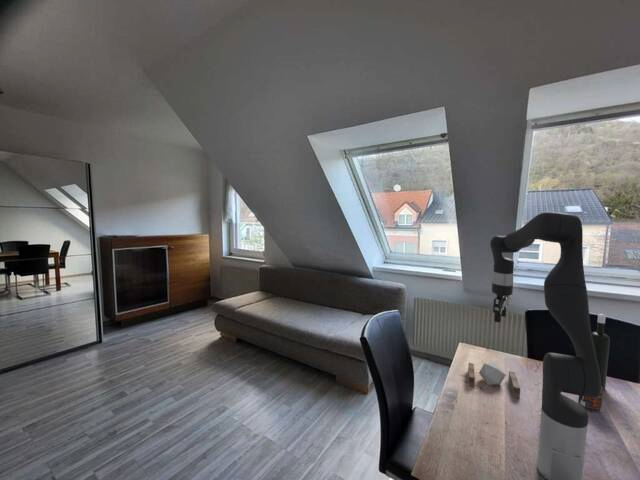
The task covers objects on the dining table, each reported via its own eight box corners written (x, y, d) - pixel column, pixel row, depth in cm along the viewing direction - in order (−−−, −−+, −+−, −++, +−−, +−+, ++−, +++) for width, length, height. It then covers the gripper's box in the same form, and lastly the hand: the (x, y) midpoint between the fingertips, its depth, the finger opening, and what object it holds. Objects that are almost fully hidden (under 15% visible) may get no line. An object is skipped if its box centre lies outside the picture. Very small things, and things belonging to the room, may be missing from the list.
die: (504, 393, 111) (512, 370, 113) (483, 381, 112) (492, 358, 114) (491, 388, 119) (500, 367, 121) (472, 376, 120) (481, 355, 122)
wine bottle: (581, 383, 116) (588, 312, 113) (590, 380, 118) (597, 310, 115) (599, 392, 110) (607, 317, 107) (608, 388, 112) (615, 315, 109)
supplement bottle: (583, 411, 100) (586, 381, 99) (574, 400, 106) (577, 371, 104) (605, 414, 98) (608, 384, 97) (594, 403, 104) (597, 374, 103)
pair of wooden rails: (519, 398, 107) (520, 388, 107) (468, 386, 114) (469, 377, 114) (514, 381, 118) (514, 372, 117) (468, 371, 125) (468, 362, 125)
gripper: (508, 287, 113) (506, 326, 115) (516, 280, 123) (514, 316, 125) (487, 284, 118) (485, 321, 120) (496, 277, 128) (494, 312, 130)
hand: (500, 318), depth 122 cm, fingers open, 8 cm apart
